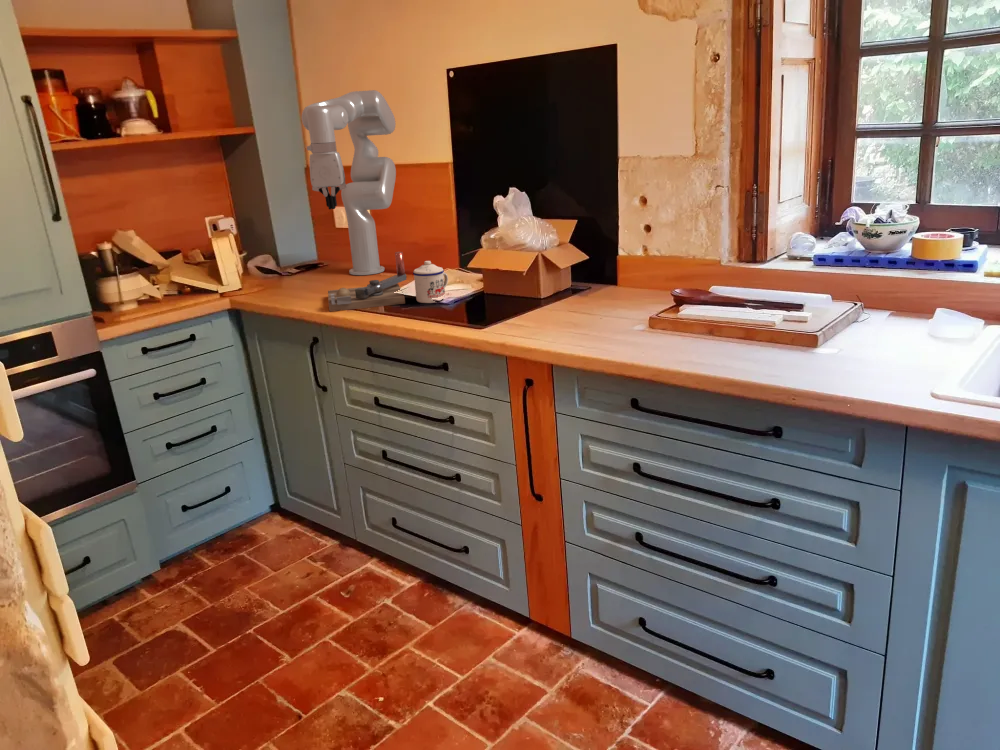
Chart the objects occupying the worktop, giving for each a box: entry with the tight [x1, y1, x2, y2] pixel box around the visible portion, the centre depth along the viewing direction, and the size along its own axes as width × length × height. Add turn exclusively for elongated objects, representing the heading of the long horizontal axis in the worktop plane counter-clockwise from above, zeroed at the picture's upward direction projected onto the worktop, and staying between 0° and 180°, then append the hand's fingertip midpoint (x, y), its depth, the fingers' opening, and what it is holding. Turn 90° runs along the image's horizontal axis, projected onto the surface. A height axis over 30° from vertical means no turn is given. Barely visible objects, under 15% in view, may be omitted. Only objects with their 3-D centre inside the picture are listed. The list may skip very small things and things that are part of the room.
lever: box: [355, 251, 407, 299], centre depth 230 cm, size 23×5×10 cm, turn 155°
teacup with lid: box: [412, 260, 449, 304], centre depth 225 cm, size 12×9×12 cm
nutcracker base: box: [327, 279, 406, 312], centre depth 229 cm, size 21×22×6 cm
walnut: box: [336, 287, 350, 297], centre depth 221 cm, size 4×4×4 cm
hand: (332, 208), depth 240 cm, fingers closed
